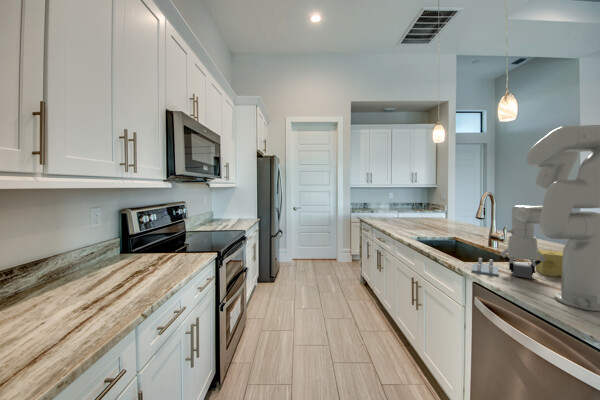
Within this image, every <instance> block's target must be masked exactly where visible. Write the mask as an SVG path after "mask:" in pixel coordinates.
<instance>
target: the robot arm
mask: <svg viewBox="0 0 600 400" xmlns="http://www.w3.org/2000/svg"><path fill="white" fill-rule="evenodd" d="M579 152H583V153H584V152H591V153H590V154H588V156H587V157H586V158H585V159H584V160H583V161H582V163H580V166H579V168H578V173H577V176H576V178H574V179H569V177H570V175H571V172H572V170H573V169H574V166H575V164H576V161H577V159H578V158H579ZM526 163H527V165H529V166H531V167H532V168H540V169H539V171H538V173H537V176H536V178H535V181H534V182H535V185H537V186H538V187H540V188H541V189H545V190H546V191H545V193H544V197H543V203H542V205H513V207H512V208H511V229H507V233H510V234H509V237H508V242H507V248H506V249H504V250H503V251H502V252H500V256H501V257H503V259H504V260H505V261H507V262H508V270H509V271H510V272H511V273H513V261H514V260H515V259H519V260H527V261H530V265H531V267H532V276H533V275H534V274H535V273H536V265H538V264H539V263H541V262H543V261H544V260H546V259H545V257H543V256H542V255H541V254H540V253H539V252H538V250H539V247H538V240H537V237H536V236H535V235H534V233H535V232H534V231H535V230H534V229H535V225H539V230H540V232H541V234H542V235H543V236H545V237H546V238H550V239H552V240H568V241H567V242H566V243H565V245H564V246H563V250H562V251H563V261H562V277H561V286H560V287H561V289H560V290H561V291H560V292H557V293H555V294H554V299H555V300H556V301H558V302H560V303H562V304H565V305H567V306H569V307H573V308H577V309H580V310H585V311H591V312H598V313H599V312H600V213H599V212H597V211H596V212H595V211H587V210H585V211H584V210H575V211H574V210H573V209H600V124H591V125H590V124H586V125H564V126H559V127H557V128H555V129H553V130H552V131H550V132H549V133H548V134H546V135H545V136H544V137H542V138H541V139H540V140H539V141H537V142H536V143H535V144H534V145H533V146H531V148H530V149H529V151H528V153H527V155H526ZM506 254H507V255H508V256H507V255H506ZM538 256H539V257H540V259H538V260H537V258H538ZM535 260H536V261H535Z"/></svg>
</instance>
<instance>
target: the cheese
mask: <svg viewBox="0 0 600 400" xmlns="http://www.w3.org/2000/svg"><path fill="white" fill-rule="evenodd" d="M538 252H539V253H540V254H541V255H542V256H543V257H545V259H546V260H544V261H543V262H541V263H539V264H538V265H536V266H535V271H537V272H539V273H540V274H541V275H542V276H547V277H560V278H562V261H563V250H562V251H561V250H560V251H557V250H556V251H555V250H543V249H538ZM538 259H540V257H539V256H538V258H537V260H538ZM535 261H536V260H534V262H535Z"/></svg>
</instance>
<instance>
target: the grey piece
mask: <svg viewBox="0 0 600 400" xmlns="http://www.w3.org/2000/svg"><path fill="white" fill-rule="evenodd" d="M472 263H473V264H472V267H471V273H474V274H481V275H486V276H492V277H493V276H494V277H499V275H500V274H499V266H497V265H494V260H493V259H490V258H489V260H488V264H483V258H482V257H478V263H477V262H475V263H474V262H472Z"/></svg>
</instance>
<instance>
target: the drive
mask: <svg viewBox="0 0 600 400" xmlns="http://www.w3.org/2000/svg"><path fill="white" fill-rule="evenodd" d="M512 274H513V277H520V278H524V279H525V278H527V279H533V275H532V267H531V262H523V261H517V260H515V261H514V260H513V272H512Z"/></svg>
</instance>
